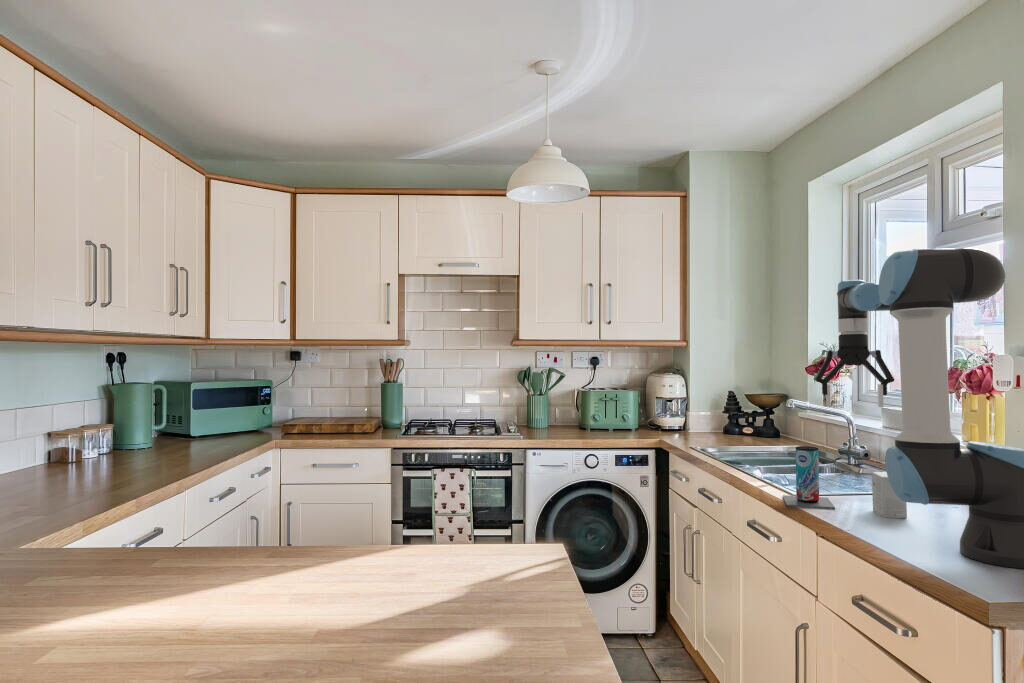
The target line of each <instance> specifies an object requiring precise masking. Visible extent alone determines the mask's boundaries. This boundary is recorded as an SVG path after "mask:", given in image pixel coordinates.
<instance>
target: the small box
mask: <svg viewBox="0 0 1024 683" xmlns="http://www.w3.org/2000/svg"><path fill="white" fill-rule="evenodd" d="M871 485H872V486H871V489H872V491H871V492H872V496H871V497H872V511H874V512H875V513H876V514H878V515H879V514H880V516H881V517H882V516H883V517H882V518H884V517H885V518H886V517H888V518H890V519H891V518H892V519H893V518H894V519H907V518H908V508H907V507H908V506H907V505H908V504H907V502H905V501H903V500H901V499H900V498H899V497H898V496H897V495H896V494H895V492H894V491H893V489H892V487H891V485H890V482H889V479H888V476H887V472H886V471H871Z"/></svg>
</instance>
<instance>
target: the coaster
mask: <svg viewBox="0 0 1024 683" xmlns="http://www.w3.org/2000/svg"><path fill="white" fill-rule="evenodd" d="M782 498H783V500H784V503H785V505H786V508H804V509H819V510H821V509H822V510H836V507H835V505H834V504H833V503H832V502H831V500H830V499H829V498H828V497H826V496H825V497H821V496H819V501H818V502H816V503H806V502H801V501H798V500H797V498H796V495H788V494H786V495H785V494H782Z"/></svg>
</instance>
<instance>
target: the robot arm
mask: <svg viewBox="0 0 1024 683" xmlns="http://www.w3.org/2000/svg"><path fill="white" fill-rule="evenodd" d="M1005 281H1006V270H1005V266H1004V265H1003V263H1002V262H1001V260H1000V259H999V258H998V257H997V256H995V255H994V254H992V253H990V252H988V251H986V250H983V249H978V248H972V247H960V248H959V247H958V248H932V249H931V248H925V249H924V248H923V249H922V248H921V249H919V248H914V249H908V250H899V251H895V252H893V253H891V254H889V255H888V256H887V258H886V260H885V261H884V263H883V265H882V267H881V270H880V273H879V279H878V283H876V282H875V283H874V282H867V281H865V280H863V279H849V280H848V279H847V280H841V281H840V282H838V284H837V292H836V296H837V315H838V318H837V319H838V320H837V322H838V326H837V327H838V329H837V330H838V333H840V334H839V335H838V348H837V349H838V350H837V351H834V350H830V349H829V350H827V351H826V355H825V356H826V357H825V359H824V362H823V363H822V365H821V367H820V368H819V371H818V372H817V375H816V376H815V379H814V381H815V382H817V383H820V384H821V393H822V395H823V396H825V397H826V398H825V403H826V407H828V408H829V407H830V408H831V407H832V406H831V405H832V404H831V403H832V402H831V401H832V400H831V399H832V398H831V383H829V382H830V381H831V380H832V379H833V377H834V376H835V375H836V374H837V373H838V372H839V371H840V369H842V368H843V367H844V366H848V367H849V366H861V365H862V366H864V367H865V368H866V369H867V371H869V372H870V374H872V376H873V377H874V378H876V380H878V382H879V383H878V384H877V406H878V408H884V396H888V384H890V383H893V382H894V381H895V378H894V376H893V375H892V372H891V371H890V370H889V368H888V366H887V365H886V362H885V361H884V360H883V358H882V352H881V350H879V349H875V350H869V337H868V336H869V335H868V334H866V333H867V332H869V331H868V329H869V328H868V312H879V311H880V312H882V311H883V312H884V311H886V312H887V311H889V314H890V315H891V316H892V317H893V318H894V319H895V320H896V321H897V324H898V325H897V326H898V350H899V370H900V376H899V377H900V392H901V393H900V394H901V397H900V398H901V416H902V417H901V418H902V419H901V420H902V430H901V432H900V433H899V434H897V435H896V437H894V444H895V445H894V446H890V447H888V448H887V449H886V451H885V457H884V465H885V472H887V476H888V479H889V482H890V485H891V487H892V489H893V491H894V492H895V494H896V495H897V496H898V497H899V498H900V499H901V500H903V501H905V502H906V503H912V504H921V505H924V506H927V505H951V506H955V505H956V506H968V518H967V520H966V523H965V525H964V528H963V531H962V533H961V535H960V537H959V538H960V539H959V552H960V553H961V554H962V555H964V556H966V557H968V558H970V559H971V560H975V561H978V562H981V563H982V562H983V563H985V564H990V565H994V566H1000V567H1005V568H1006V567H1007V568H1015V569H1024V448H1019V447H1016V446H1015V447H1014V446H1009V445H1005V444H997V443H992V442H984V441H972V440H969V441H968V442H967V444H966V448H961V442H960V441H961V440H960V439H959V438H958V437H956V436H955V435H954V434H953V433H952V430H951V415H950V414H951V412H950V411H951V410H950V389H949V372H948V370H949V369H948V352H947V350H948V348H947V347H948V346H947V328H946V326H947V325H946V324H947V322H946V319H947V317H948V316H949V315H950V314H952V313H953V312H954V309H955V308H954V304H955V303H956V304H957V303H958V304H959V303H971V302H972V303H973V302H979V301H983V300H986V299H989V298H991V297H993V296H994V295H996V294H997V293H998V292H999V291H1000V290H1001V289H1002V288H1003V285H1004V284H1005ZM836 356H837V357H838V358H839V359H840V360H839V361H838V362H837V364H836V365H835V366H833V368H832V369H831V370H830V371H829V372H828V374H827V375H825V373H826V371H827V369H828V367H829V365H830V364H831V362H832V360H833V359H834V358H835V357H836ZM870 356H871V357H872V358H874V359H875V361H876V363H877V365H878V366H879V368H880V370H881V372H882V374H883V375H884V376H885V377H883V375H882V374H881V373H879V372H878V370H877V369H876V368H875V367H874V366H873V365H872V364H871V362H870V361H869V360H868V358H869V357H870ZM824 375H825V377H824Z"/></svg>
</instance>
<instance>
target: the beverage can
mask: <svg viewBox="0 0 1024 683" xmlns="http://www.w3.org/2000/svg"><path fill="white" fill-rule="evenodd" d="M819 456H820V455H819V448H818V447H816V446H807V445H806V446H805V445H804V446H803V445H801V446H795V490H796V491H795V492H796V493H795V494H796V495H795V496H796V498H797V500H798V501H801V502H806V503H816V502H818V501H819V497H820V464H819V461H820V460H819V459H820V458H819Z"/></svg>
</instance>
